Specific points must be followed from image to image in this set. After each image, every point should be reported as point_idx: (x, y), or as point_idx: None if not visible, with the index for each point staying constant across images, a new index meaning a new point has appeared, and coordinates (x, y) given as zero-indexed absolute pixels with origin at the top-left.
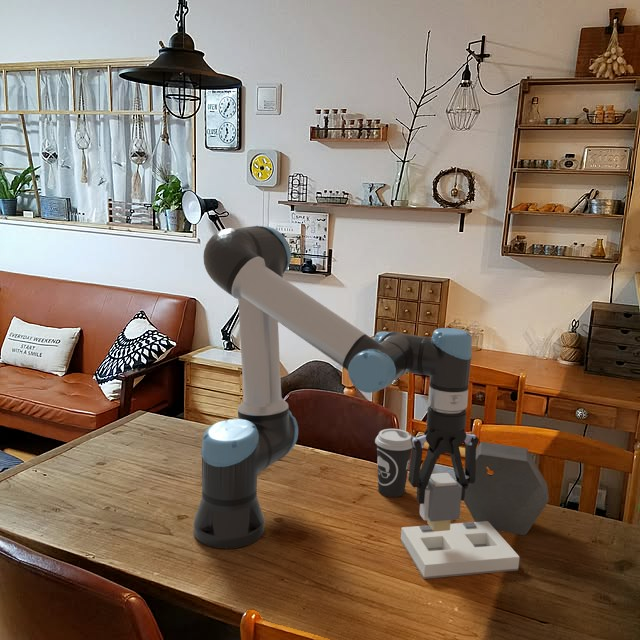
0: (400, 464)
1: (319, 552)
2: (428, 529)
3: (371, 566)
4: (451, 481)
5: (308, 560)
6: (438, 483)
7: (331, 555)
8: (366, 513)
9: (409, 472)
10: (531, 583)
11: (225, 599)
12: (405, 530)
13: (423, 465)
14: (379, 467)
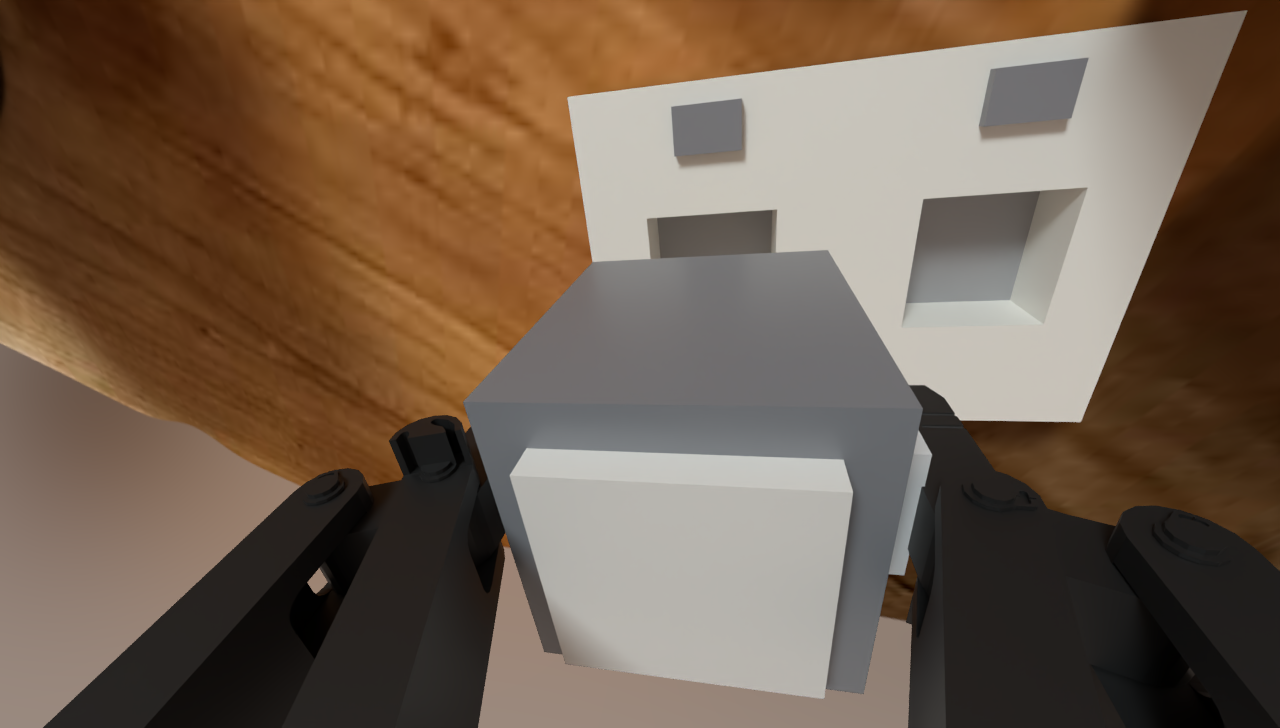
0: None
1: (258, 187)
2: (713, 152)
3: (454, 296)
4: (767, 671)
5: (238, 239)
6: (594, 667)
7: (305, 212)
8: None
9: (220, 572)
10: (1025, 457)
11: (116, 391)
12: (584, 136)
13: (308, 715)
14: None
